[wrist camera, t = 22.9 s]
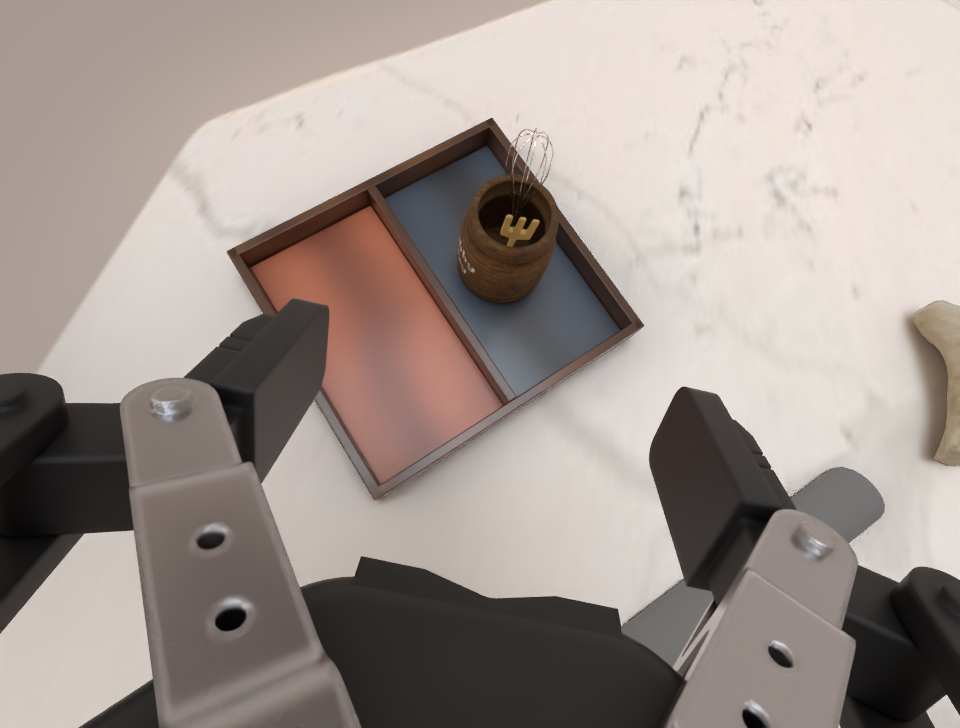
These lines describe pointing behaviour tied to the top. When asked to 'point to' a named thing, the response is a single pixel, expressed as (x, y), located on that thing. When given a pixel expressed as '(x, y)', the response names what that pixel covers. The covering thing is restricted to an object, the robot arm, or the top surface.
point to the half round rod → (677, 613)
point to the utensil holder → (508, 235)
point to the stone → (956, 339)
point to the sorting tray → (429, 310)
